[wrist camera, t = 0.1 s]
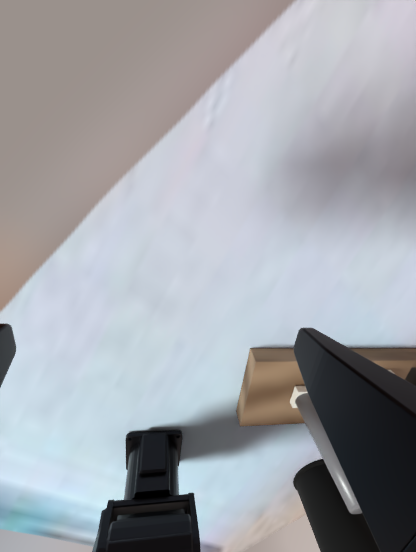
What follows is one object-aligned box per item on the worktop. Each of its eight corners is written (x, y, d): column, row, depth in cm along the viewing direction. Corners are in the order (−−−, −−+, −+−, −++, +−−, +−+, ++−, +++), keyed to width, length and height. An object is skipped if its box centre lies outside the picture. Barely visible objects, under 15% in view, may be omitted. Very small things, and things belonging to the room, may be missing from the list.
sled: (369, 411, 33) (449, 516, 23) (285, 415, 31) (336, 530, 22) (390, 369, 30) (491, 470, 21) (300, 370, 28) (365, 482, 19)
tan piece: (414, 403, 37) (469, 461, 30) (236, 411, 33) (254, 480, 26) (447, 348, 33) (520, 401, 26) (250, 348, 29) (276, 411, 22)
